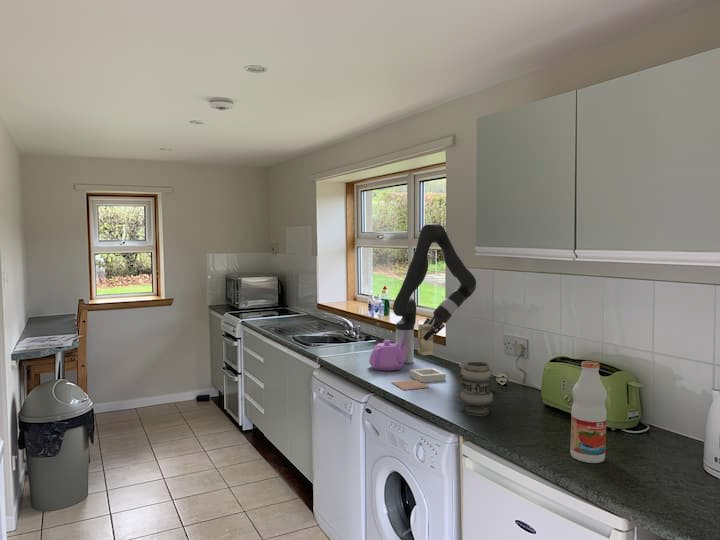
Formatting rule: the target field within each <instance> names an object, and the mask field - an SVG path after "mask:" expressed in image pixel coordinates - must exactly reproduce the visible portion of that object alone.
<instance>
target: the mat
mask: <svg viewBox="0 0 720 540" xmlns="http://www.w3.org/2000/svg"><path fill="white" fill-rule="evenodd" d="M392 383H393V384H392ZM391 384H392V385H394V386H395V385H396V386H395V387H397V386H398V387H397V388H398V389H400V388H401V389H400V390H402V389H403V390H404V391H408V390H407V389H415V390H422V389H421V388H425V389H430V387H429V386H428V385H426V384H425V383H421V382H420V381H418V380H416V379H414V380H403V381H402V380H400V381H393V382H391ZM403 390H402V391H403Z"/></svg>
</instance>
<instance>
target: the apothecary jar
mask: <svg viewBox="0 0 720 540" xmlns="http://www.w3.org/2000/svg"><path fill="white" fill-rule="evenodd" d="M460 376H461V379H462V378H463V379H464V385H463V390H462V391H461V392H460V395H459V397H460V400H461V401H462V402H463V403H465V404H466V405H467V406H465V407H463V409H462V412H463V413H465V414H467V415H470V416H476V417H485V416H488V415H490V413H491V410H489V408H487V407H485V406H488V405H489V404H491V403H492V402H493V401H494V394H493V393H492V392H491V380H492V379H493V378H494V372H493V371H492V370H491V369H490V365H489V363H488V362H485V361H476V360H475V361H467V362H466V364H465V368H464V369H462V371H460ZM468 405H469V406H468Z"/></svg>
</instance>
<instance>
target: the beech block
mask: <svg viewBox="0 0 720 540" xmlns="http://www.w3.org/2000/svg"><path fill="white" fill-rule="evenodd" d="M417 326H418V328H417V354H419V355H422V356H430V355H434V335H431V337H430V338H429V339H428V340H427V341H426V340H425V339H424V338H423V337H424V336H425V335H426V333H427V332H429V330H430V328H431V325H430V324H424V323H423V324H417Z"/></svg>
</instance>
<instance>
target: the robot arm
mask: <svg viewBox="0 0 720 540" xmlns="http://www.w3.org/2000/svg"><path fill="white" fill-rule="evenodd" d="M433 243H435V244H437V245H438V246H439V248H440V249H441V252H442V254H443V259H444V260H443V261H444V263H445V265H446V267H447V269H448V270H449V272H450V273H451V274H452V275H453V277H454V278H456V279H457V280H458V281H459V283H460V285H459V286H458V287H457V288H456V290H452V291H451V292H450V294H449V295H448V296H447V297H446V298H445V299H444V300H442V302H440V304H439V305H438V306H437V308H436V309H434V311H433V313H432V314H433V317H431V318H429V317H427V318H426V320H425V321H424V322H423V324H430V325H431V328H430V330H429V332H427V333H426V335H425V336H424V337H423V338H424V339H425V340H426V341H427V340H428V339H429V338H430V337H431V335H433V336H434V335H435V336H436V335H437V334H438V333H439V332H440V331H441V330H442V329H444V328H445V327H446V325H445V324H446V323H447V322H448V321H449V320H450V319H451V318H452V317H453V316H454V314H455V313H456V312H457V310H458V309H459V308H460V306H461V305H462V304H463V303H464V301H466V300H467V299H468V298H469V297H471V296H472V294H473V293H474V292H475V290H476V288H477V280H476V277H475V276H474V274H473V273H472V272H471V271H470V270H469V269H468V268H467V267H466V266H465V264H464V262H463V261H462V260H461V258H460V257H459V256H458V254H457V251H456V250H455V248H454V246H453V244H452V242H451V240H450V238H449V235H448V233H447V231H446V229H445V228H444V226H443V225H441V224H439V223H425V224H424V225H423V226H422V227H421V230H420V233H419V235H418V240H417V243H416V247H415V250H414V253H413V256H412V259H411V261H410V263H409V266H408V269H407V273H406V274H405V277H404V280H403V282H402V284H401V287H400V290H399V292H398V293H397V296H396V297H395V299H394V301H393V304H392V305H393V306H392V311H393V314H394V315H395V316H397V317H401V319H399V320H398V322H396V324H395V343H397V344H398V345H399V347H400V350H401V352H402V349H403V346H405V345H409V346H408V347H407V350H406V354H407V357H406V360H405V362H404V364H412V363H414V354H415V352H414V343H415V336H414V335H415V325H416V321H417V320H416V319H417V303H416V301H415V299H413V298H412V297H411V296H412V295H413V293H414V292H415V291H416V290H417V289H418V287H420V286H421V285H422V283H423V282H424V280H425V279H426V275H427V273H428V270H429V258H428V254H429V250H430V249H431V246H432V244H433Z"/></svg>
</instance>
